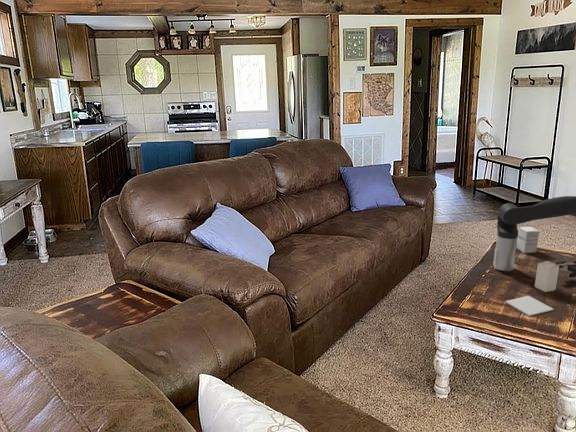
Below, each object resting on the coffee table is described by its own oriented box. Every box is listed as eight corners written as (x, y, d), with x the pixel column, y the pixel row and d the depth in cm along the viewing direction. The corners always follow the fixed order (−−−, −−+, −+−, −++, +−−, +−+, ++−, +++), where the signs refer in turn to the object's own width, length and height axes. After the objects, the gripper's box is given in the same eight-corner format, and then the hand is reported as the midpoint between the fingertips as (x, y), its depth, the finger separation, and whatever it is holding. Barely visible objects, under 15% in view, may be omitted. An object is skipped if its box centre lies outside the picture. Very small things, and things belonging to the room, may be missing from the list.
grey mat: (529, 316, 190) (529, 314, 190) (505, 302, 202) (505, 301, 201) (553, 310, 194) (553, 308, 194) (528, 296, 206) (528, 295, 206)
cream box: (545, 292, 210) (549, 267, 206) (534, 286, 215) (538, 262, 211) (555, 289, 211) (559, 265, 208) (544, 284, 217) (548, 260, 213)
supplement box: (516, 248, 260) (519, 227, 256) (528, 247, 261) (531, 226, 257) (523, 253, 253) (526, 231, 249) (536, 252, 254) (539, 230, 250)
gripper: (574, 253, 225) (549, 258, 219) (602, 264, 212) (576, 270, 207) (572, 267, 227) (547, 273, 222) (599, 279, 214) (573, 285, 209)
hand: (561, 271), depth 214 cm, fingers open, 8 cm apart
